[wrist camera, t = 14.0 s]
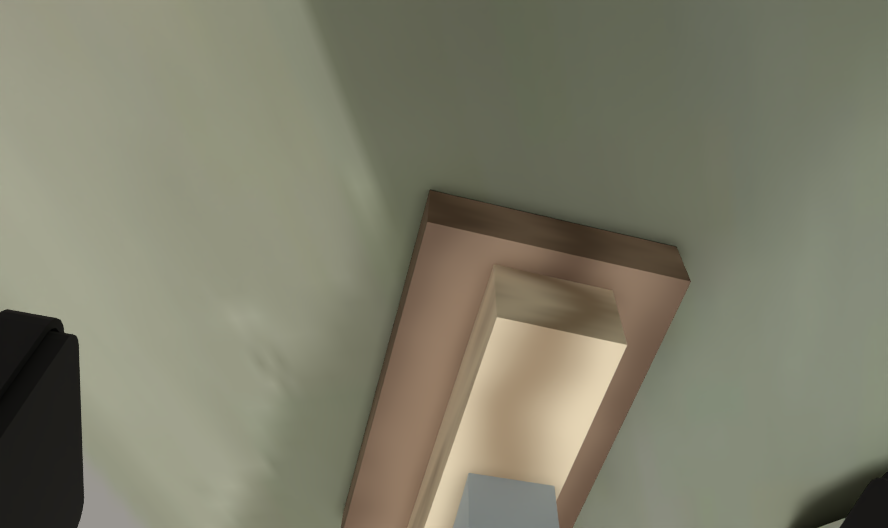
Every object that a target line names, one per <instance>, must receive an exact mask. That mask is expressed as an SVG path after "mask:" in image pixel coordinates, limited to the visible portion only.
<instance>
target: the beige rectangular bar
mask: <svg viewBox="0 0 888 528" xmlns="http://www.w3.org/2000/svg"><path fill="white" fill-rule="evenodd" d="M626 347H627V342H626V338H625V335H624V331H623V327H622V324H621V320H620V316H619V312H618V309H617V305H616V301H615V298H614V294H613V291H612V290H608V289H603V288H599V287H594V286H590V285H585V284H581V283H576V282H572V281H567V280H563V279H558V278H554V277H549V276H545V275H540V274H536V273H531V272H527V271H522V270H518V269H513V268H509V267H504V266H500V265H495V264H494V265H493V269H492V272H491V275H490V278H489V281H488V284H487V287H486V290H485V293H484V296H483V299H482V302H481V305H480V308H479V311H478V314H477V317H476V320H475V323H474V326H473V329H472V332H471V335H470V338H469V341H468V344H467V347H466V351H465V354H464V357H463V360H462V363H461V366H460V369H459V372H458V375H457V378H456V381H455V384H454V387H453V390H452V393H451V396H450V399H449V402H448V405H447V408H446V411H445V414H444V417H443V420H442V423H441V426H440V429H439V432H438V436H437V439H436V442H435V445H434V448H433V451H432V454H431V457H430V460H429V463H428V466H427V469H426V472H425V475H424V478H423V481H422V484H421V487H420V490H419V493H418V496H417V499H416V502H415V505H414V508H413V511H412V514H411V518H410V521H409V524H408V527H407V528H453V525H454V522H455V518H456V515H457V511H458V508H459V505H460V501H461V498H462V494H463V491H464V487H465V484H466V480H467V477H468V473H473V474H480V475H486V476H493V477H499V478H506V479H512V480H519V481H526V482H532V483H539V484H545V485H552V486H554V487H555V496H556V501H557V498H558V496H559V494H560V492H561V490H562V487H563V485H564V483H565V481H566V479H567V476H568V474H569V472H570V470H571V468H572V465H573V463H574V461H575V459H576V457H577V454H578V452H579V450H580V448H581V446H582V443H583V441H584V439H585V437H586V435H587V432H588V430H589V428H590V426H591V424H592V421H593V419H594V417H595V415H596V413H597V410H598V408H599V406H600V404H601V402H602V399H603V397H604V395H605V393H606V391H607V388H608V386H609V384H610V382H611V380H612V377H613V375H614V373H615V371H616V369H617V367H618V364H619V362H620V360H621V358H622V356H623V353H624V351H625V349H626Z"/></svg>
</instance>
